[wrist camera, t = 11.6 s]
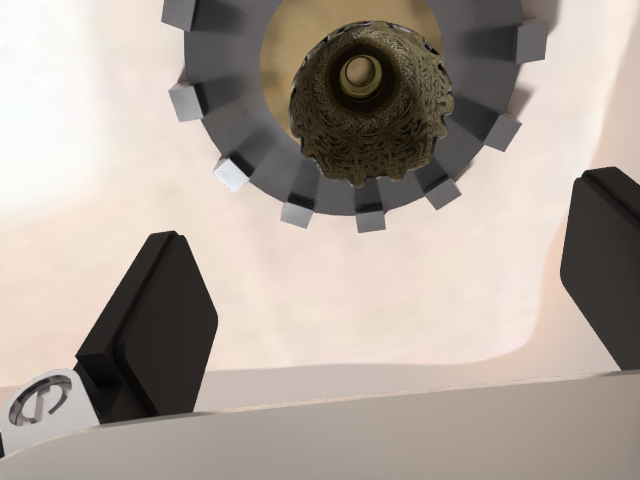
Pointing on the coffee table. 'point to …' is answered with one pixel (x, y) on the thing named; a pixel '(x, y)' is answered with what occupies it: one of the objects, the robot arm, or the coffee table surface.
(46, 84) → the coffee table surface
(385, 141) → the cup
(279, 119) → the gear
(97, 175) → the coffee table surface
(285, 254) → the coffee table surface
